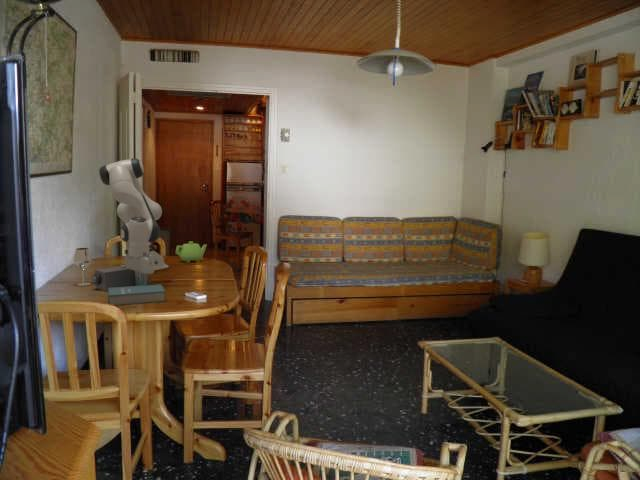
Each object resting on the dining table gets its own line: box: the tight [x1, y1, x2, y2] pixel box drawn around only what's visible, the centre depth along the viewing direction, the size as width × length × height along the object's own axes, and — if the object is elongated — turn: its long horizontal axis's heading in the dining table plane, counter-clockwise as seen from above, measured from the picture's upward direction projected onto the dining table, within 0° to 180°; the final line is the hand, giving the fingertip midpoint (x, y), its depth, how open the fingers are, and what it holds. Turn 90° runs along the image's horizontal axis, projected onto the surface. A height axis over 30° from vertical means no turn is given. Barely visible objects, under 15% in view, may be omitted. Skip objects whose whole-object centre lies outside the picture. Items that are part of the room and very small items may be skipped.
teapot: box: [174, 241, 208, 264], centre depth 331 cm, size 20×13×13 cm
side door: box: [135, 273, 150, 286], centre depth 253 cm, size 15×2×8 cm, turn 37°
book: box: [107, 283, 166, 306], centre depth 233 cm, size 23×16×5 cm
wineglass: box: [73, 247, 93, 287], centre depth 261 cm, size 8×8×18 cm
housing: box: [92, 264, 136, 292], centre depth 256 cm, size 18×10×10 cm, turn 139°
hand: (140, 280), depth 249 cm, fingers closed
